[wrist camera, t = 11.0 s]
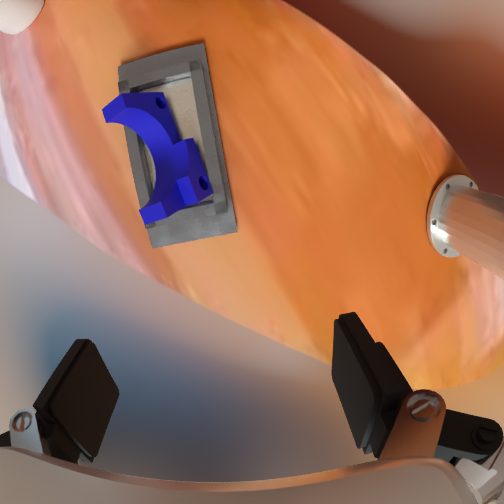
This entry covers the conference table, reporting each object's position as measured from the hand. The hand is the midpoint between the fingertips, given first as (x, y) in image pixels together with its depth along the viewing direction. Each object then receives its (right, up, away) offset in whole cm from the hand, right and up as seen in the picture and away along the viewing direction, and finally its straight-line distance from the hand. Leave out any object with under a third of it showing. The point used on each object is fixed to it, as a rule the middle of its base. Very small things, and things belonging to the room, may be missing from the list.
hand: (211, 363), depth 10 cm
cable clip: (-6, +15, +17) cm, 24 cm away
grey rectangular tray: (-7, +16, +19) cm, 26 cm away
